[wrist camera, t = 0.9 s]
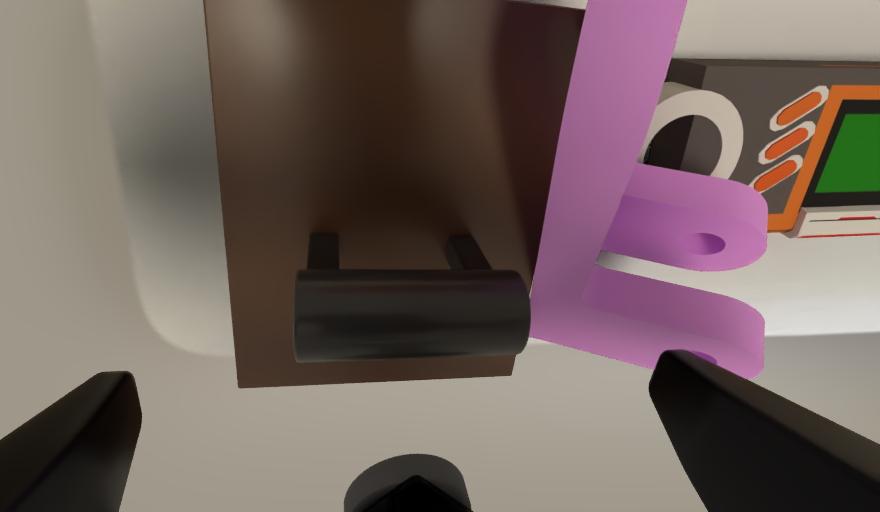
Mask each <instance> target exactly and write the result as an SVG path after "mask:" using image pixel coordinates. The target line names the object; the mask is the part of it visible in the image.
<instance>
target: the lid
mask: <svg viewBox="0 0 880 512" xmlns="http://www.w3.org/2000/svg"><path fill="white" fill-rule="evenodd" d="M203 3H204V14H205V25H206V36H207V47H208V58H209V69H210V81H211V92H212V103H213V114H214V125H215V136H216V147H217V158H218V169H219V181H220V192H221V203H222V214H223V225H224V236H225V247H226V258H227V269H228V280H229V292H230V303H231V314H232V325H233V336H234V347H235V358H236V368H237V379H238V387H239V388H257V387H258V388H259V387H280V386H301V385H321V384H322V385H323V384H344V383H365V382H387V381H408V380H429V379H451V378H472V377H494V376H511V375H512V370H513V366H514V361H515V357H516V355H517V354H519V353H521V352H522V351H523V349H524V348H525V346H526V344H527V341H528V338H529V333H530V326H531V306H530V298H529V294H530V289H531V285H532V280H533V276H534V271H535V267H536V262H537V258H538V252H539V247H540V241H541V235H542V230H543V224H544V219H545V213H546V207H547V202H548V196H549V190H550V185H551V179H552V173H553V168H554V162H555V157H556V151H557V145H558V140H559V135H560V129H561V124H562V119H563V114H564V109H565V104H566V99H567V94H568V89H569V85H570V80H571V75H572V70H573V66H574V61H575V57H576V52H577V47H578V43H579V38H580V34H581V29H582V25H583V20H584V16H585V12H586V10H585V9H577V8H570V7H562V6H555V5H547V4H539V3H532V2H524V1H517V0H203Z"/></svg>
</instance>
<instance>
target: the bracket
mask: <svg viewBox="0 0 880 512" xmlns="http://www.w3.org/2000/svg"><path fill="white" fill-rule="evenodd" d="M686 3H687V0H588V3H587V7H586V12H585V16H584V20H583V25H582V29H581V34H580V38H579V43H578V47H577V52H576V57H575V61H574V66H573V70H572V75H571V80H570V85H569V89H568V94H567V99H566V104H565V109H564V114H563V119H562V124H561V129H560V135H559V140H558V145H557V151H556V157H555V162H554V168H553V173H552V179H551V185H550V190H549V196H548V202H547V207H546V213H545V219H544V224H543V230H542V235H541V241H540V247H539V252H538V258H537V264H536V269H535V275H534V280H533V286H532V292H531V297H530V306H531V326H530V333H529V336H530V337H533V338H537V339H541V340H545V341H548V342H552V343H556V344H560V345H563V346H567V347H571V348H575V349H578V350H582V351H586V352H590V353H593V354H597V355H601V356H605V357H608V358H613V359H616V360H620V361H624V362H627V363H631V364H634V365H638V366H642V367H646V368H649V369H653V370H654V369H655V366H656V363H657V361H658V358H659V356H660V354H661V353H662V352H663V351H665V350H674V349H684V350H687V351H690V352H692V353H694V354H696V355H698V356H700V357H702V358H704V359H706V360H708V361H710V362H712V363H714V364H716V365H718V366H720V367H722V368H724V369H727V370H729V371H731V372H733V373H735V374H737V375H739V376H741V377H743V378H745V379H750V378H753V377H755V376H757V375H759V374H760V373H761V372H762V371H763V363H764V328H765V322H764V318H763V317H762V315H761V314H760V313H759V312H758V311H757V310H756V309H754V308H753V307H751V306H750V305H748V304H746V303H744V302H742V301H739V300H737V299H734V298H731V297H728V296H724V295H720V294H716V293H712V292H707V291H703V290H699V289H694V288H690V287H685V286H681V285H677V284H672V283H668V282H664V281H659V280H655V279H651V278H646V277H642V276H637V275H633V274H629V273H624V272H620V271H616V270H611V269H607V268H603V267H600V266H598V265H596V264H595V263H596V261H597V258H598V256H599V253H600V251H601V250H603V251H607V252H612V253H616V254H621V255H625V256H630V257H634V258H639V259H643V260H648V261H652V262H657V263H661V264H666V265H670V266H675V267H679V268H684V269H689V270H696V271H725V270H732V269H736V268H740V267H743V266H746V265H749V264H751V263H753V262H754V261H756V260H758V259H759V258H760V257H761V256H762V255H763V254H764V252H765V250H766V247H767V223H768V206H767V203H766V201H765V199H764V198H763V196H762V195H761V194H760V193H759V192H757V191H756V190H755V189H753V188H751V187H749V186H747V185H745V184H742V183H740V182H736V181H733V180H728V179H723V178H717V177H712V176H706V175H701V174H695V173H690V172H684V171H679V170H673V169H668V168H662V167H656V166H651V165H645V164H640V163H636V162H637V159H638V157H639V154H640V151H641V149H642V146H643V143H644V141H645V138H646V135H647V132H648V129H649V126H650V123H651V121H652V118H653V114H654V111H655V108H656V105H657V102H658V99H659V96H660V93H661V90H662V87H663V83H664V80H665V77H666V74H667V70H668V67H669V64H670V60H671V57H672V53H673V50H674V47H675V43H676V40H677V36H678V32H679V29H680V25H681V22H682V18H683V14H684V11H685V7H686Z"/></svg>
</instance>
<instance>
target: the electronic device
mask: <svg viewBox="0 0 880 512" xmlns="http://www.w3.org/2000/svg"><path fill="white" fill-rule="evenodd" d="M653 137H654V139H653ZM652 139H653V143H652V147H651V152H650V156H649V160H648V165H651V166H656V167H662V168H668V169H673V170H679V171H684V172H690V173H695V174H701V175H706V176H712V177H717V178H723V179H728V180H733V181H736V182H740V183H742V184H745V185H747V186H749V187H751V188H753V189H755V190H756V191H757V192H759V193H760V194H761V195H762V196H763V198H764V199H765V201H766V203H767V206H768V223H767V233H772V232H780V233H782V234H784V235H785V236H787V237H789V238H811V237H836V236H861V235H880V62H850V61H791V60H733V59H674V58H672V61H671V65H670V69H669V74H668V78H667V82H664V83H663V87H662V90H661V93H660V96H659V99H658V102H657V105H656V108H655V111H654V114H653V118H652V121H651V123H650V126H649V129H648V132H647V135H646V138H645V141H644V143H643V146H642V149H641V151H640V154H639V157H638V159H637V162H636V163H640V164H643V160H644V155H645V152H646V149H647V147H648V145H649V143H650V141H651V140H652Z"/></svg>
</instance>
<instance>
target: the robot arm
mask: <svg viewBox="0 0 880 512" xmlns="http://www.w3.org/2000/svg"><path fill="white" fill-rule="evenodd" d="M649 393H650V397H651V399H652V402H653V404H654V406H655V408H656V410H657V412H658V414H659V417H660V419H661V421H662V423H663V425H664V428H665V430H666V432H667V434H668V436H669V438H670V440H671V442H672V445H673V447H674V449H675V451H676V453H677V456H678V457H679V460H680V462H681V464H682V465H683V468H684V470H685V472H686V473H687V475H688V477H689V479H690V481H691V483H692V484H693V486H694V488H695V490H696V491H697V493H698V495H699V497H700V498H701V500H702V502H703V503H704V505H705V507H706V508H707V510H708V512H880V444H878V443H875V442H874V441H872V440H870V439H867V438H866V437H863V436H861V435H859V434H857V433H855V432H853V431H851V430H849V429H847V428H845V427H843V426H841V425H839V424H837V423H835V422H833V421H831V420H829V419H827V418H825V417H823V416H820V415H819V414H816V413H814V412H812V411H810V410H808V409H806V408H804V407H802V406H800V405H798V404H796V403H794V402H792V401H790V400H788V399H786V398H784V397H782V396H780V395H777V394H775V393H774V392H771V391H769V390H767V389H765V388H763V387H761V386H759V385H757V384H755V383H753V382H751V381H749V380H747V379H745V378H743V377H741V376H739V375H737V374H735V373H733V372H731V371H729V370H727V369H724V368H722V367H720V366H718V365H716V364H714V363H712V362H710V361H708V360H706V359H704V358H702V357H700V356H698V355H696V354H694V353H692V352H690V351H687V350H684V349H674V350H665V351H663V352H662V353H661V354H660V356H659V358H658V361H657V363H656V366H655V369H654V371H653V374H652V377H651V380H650V382H649ZM141 423H142V412H141V407H140V402H139V397H138V392H137V387H136V383H135V379H134V376H133V374H132V373H130V372H128V371H111V372H101V373H98V374H96V375H94V376H93V377H91V378H90V379H89V380H87V381H86V382H84V383H83V384H81V385H80V386H78V387H77V388H75V389H74V390H72V391H71V392H69V393H68V394H67V395H65V396H64V397H63V398H61V399H59V400H58V401H56V402H55V403H53V404H52V405H51V406H49V407H48V408H46V409H45V410H43V411H42V412H40V413H39V414H37V415H36V416H35V417H33V418H32V419H30V420H29V421H27V422H26V423H24V424H23V425H21V426H20V427H18V428H17V429H15V430H14V431H13V432H11V433H10V434H8V435H7V436H5V437H4V438H2V439H1V440H0V512H119V508H120V505H121V501H122V497H123V493H124V489H125V486H126V482H127V478H128V474H129V470H130V467H131V463H132V459H133V455H134V451H135V448H136V444H137V440H138V437H139V433H140V429H141ZM363 512H473V511H472V510H470V509H469V508H468V507H466V506H465V505H463V504H462V503H460V502H459V501H457V500H456V499H454V498H453V497H451V496H450V495H448V494H447V493H445V492H444V491H443V490H441V489H440V488H438V487H437V486H435V485H434V484H432V483H431V482H429V481H428V480H426V479H425V478H423V477H422V476H420V475H413V476H411V477H409V478H408V479H406V480H405V481H404V482H402V483H401V484H400V485H398V486H397V487H395V488H394V489H393V490H391V491H390V492H389V493H387V494H386V495H385V496H383V497H382V498H380V499H379V500H378V501H376V502H375V503H374V504H372V505H371V506H369V507H368V508H367V509H365V510H364V511H363Z"/></svg>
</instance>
